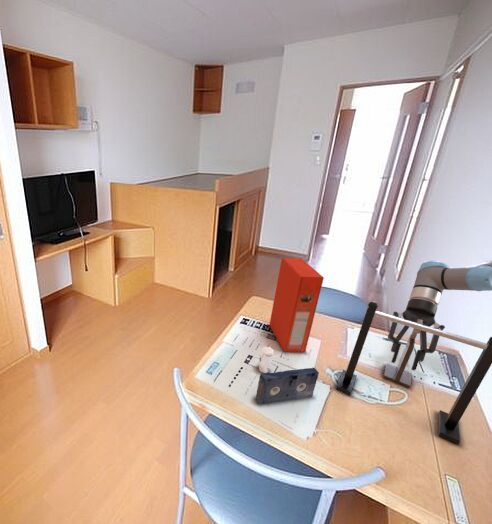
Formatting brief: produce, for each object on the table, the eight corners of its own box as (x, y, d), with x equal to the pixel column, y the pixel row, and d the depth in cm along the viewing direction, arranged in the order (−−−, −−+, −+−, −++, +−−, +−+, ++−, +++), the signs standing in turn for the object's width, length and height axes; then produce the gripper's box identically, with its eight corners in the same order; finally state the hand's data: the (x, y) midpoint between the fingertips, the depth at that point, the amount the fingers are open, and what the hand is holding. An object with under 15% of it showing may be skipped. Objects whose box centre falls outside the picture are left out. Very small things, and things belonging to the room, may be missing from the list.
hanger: (410, 375, 106) (434, 321, 97) (409, 388, 100) (434, 332, 92) (385, 365, 110) (406, 313, 101) (383, 377, 104) (405, 323, 96)
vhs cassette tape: (307, 391, 99) (314, 366, 95) (313, 398, 96) (320, 373, 92) (254, 397, 96) (259, 372, 92) (258, 404, 94) (264, 379, 90)
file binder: (283, 351, 117) (300, 276, 104) (268, 326, 132) (281, 258, 120) (305, 352, 116) (324, 277, 104) (287, 326, 132) (302, 258, 120)
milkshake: (259, 362, 111) (263, 339, 107) (272, 370, 107) (278, 347, 103) (252, 368, 108) (256, 345, 104) (266, 376, 105) (271, 353, 101)
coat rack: (456, 421, 88) (507, 331, 76) (458, 445, 82) (514, 350, 69) (342, 373, 106) (368, 293, 94) (335, 389, 99) (363, 306, 87)
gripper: (454, 315, 102) (436, 380, 97) (389, 298, 113) (369, 356, 108) (462, 308, 96) (442, 376, 91) (392, 290, 107) (372, 351, 102)
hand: (403, 365), depth 100 cm, fingers open, 4 cm apart
